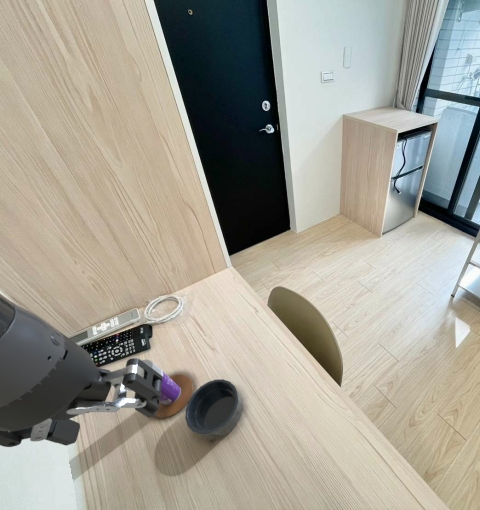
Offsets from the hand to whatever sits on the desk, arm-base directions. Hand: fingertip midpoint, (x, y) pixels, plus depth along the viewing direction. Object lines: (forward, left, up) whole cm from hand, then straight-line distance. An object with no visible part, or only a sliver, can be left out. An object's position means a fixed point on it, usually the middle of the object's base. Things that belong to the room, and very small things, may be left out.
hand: (116, 421), depth 33 cm
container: (-8, +18, -34) cm, 39 cm away
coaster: (-8, +18, -34) cm, 39 cm away
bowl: (+3, +10, -34) cm, 36 cm away
